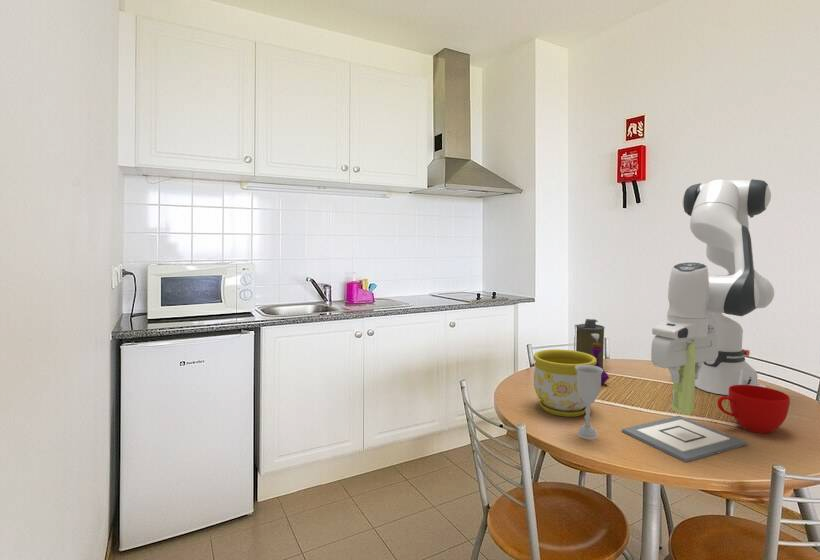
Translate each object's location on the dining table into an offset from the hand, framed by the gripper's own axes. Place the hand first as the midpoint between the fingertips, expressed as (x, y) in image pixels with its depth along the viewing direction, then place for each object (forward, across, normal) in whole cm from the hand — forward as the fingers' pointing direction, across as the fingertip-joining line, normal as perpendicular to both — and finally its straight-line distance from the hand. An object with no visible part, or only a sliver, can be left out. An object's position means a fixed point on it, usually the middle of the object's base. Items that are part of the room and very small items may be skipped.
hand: (684, 380), depth 113 cm
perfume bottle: (+15, -13, -43) cm, 47 cm away
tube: (+8, 0, 0) cm, 8 cm away
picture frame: (+15, 0, 0) cm, 15 cm away
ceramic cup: (+15, -22, +3) cm, 27 cm away
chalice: (+15, +21, -11) cm, 28 cm away
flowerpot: (+15, +14, -28) cm, 35 cm away
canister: (+15, -24, -57) cm, 64 cm away
